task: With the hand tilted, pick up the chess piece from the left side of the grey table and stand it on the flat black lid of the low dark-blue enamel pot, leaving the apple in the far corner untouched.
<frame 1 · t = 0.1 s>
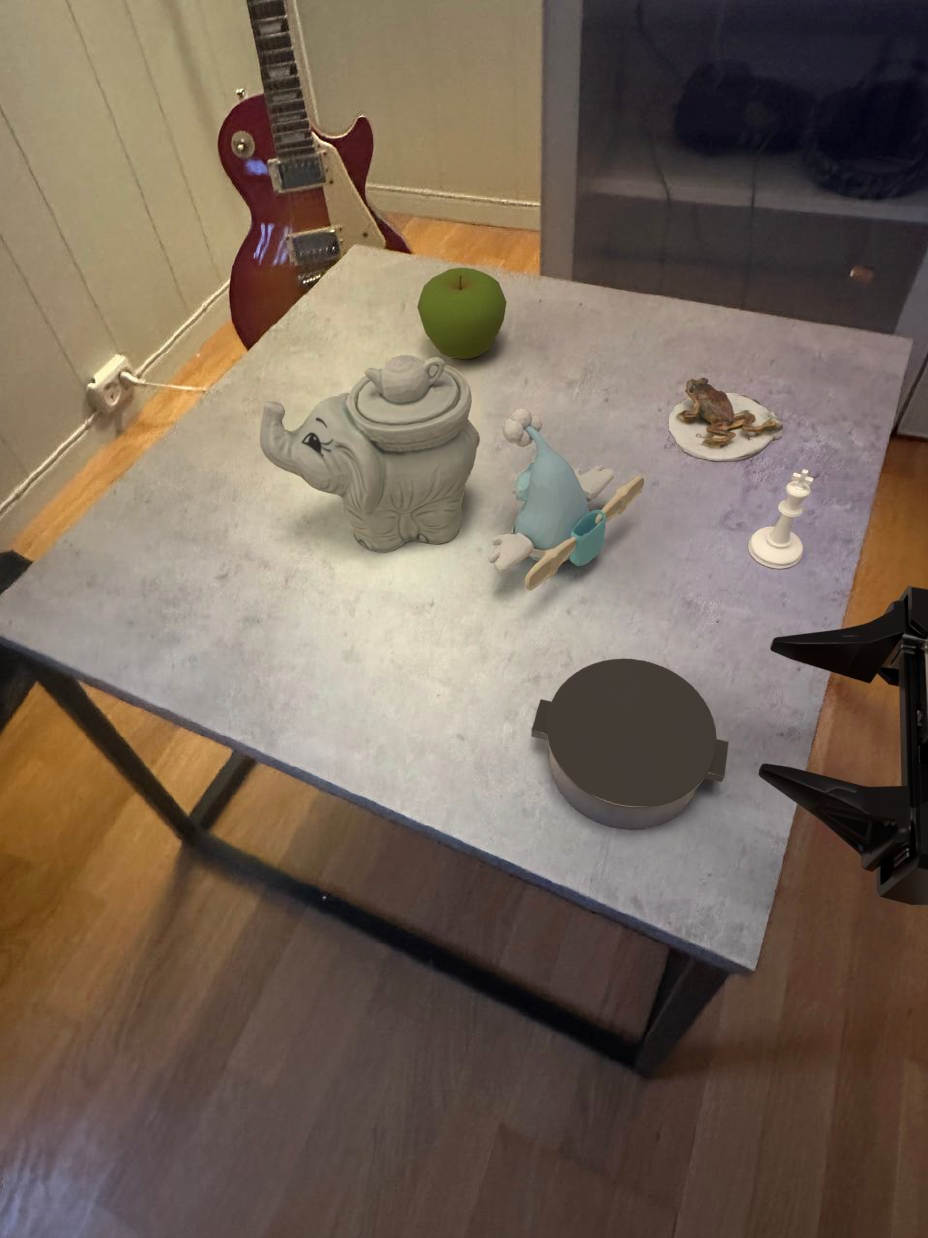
hand: (766, 703, 47), 14 cm above the table, tool horizontal, fingers open, 9 cm apart
frog figurine: (718, 428, 84), on the table
pot: (623, 757, 61), on the table
apple: (465, 352, 96), on the table
toy figure: (549, 550, 75), on the table
chess piece: (774, 550, 73), on the table
teapot: (390, 521, 79), on the table
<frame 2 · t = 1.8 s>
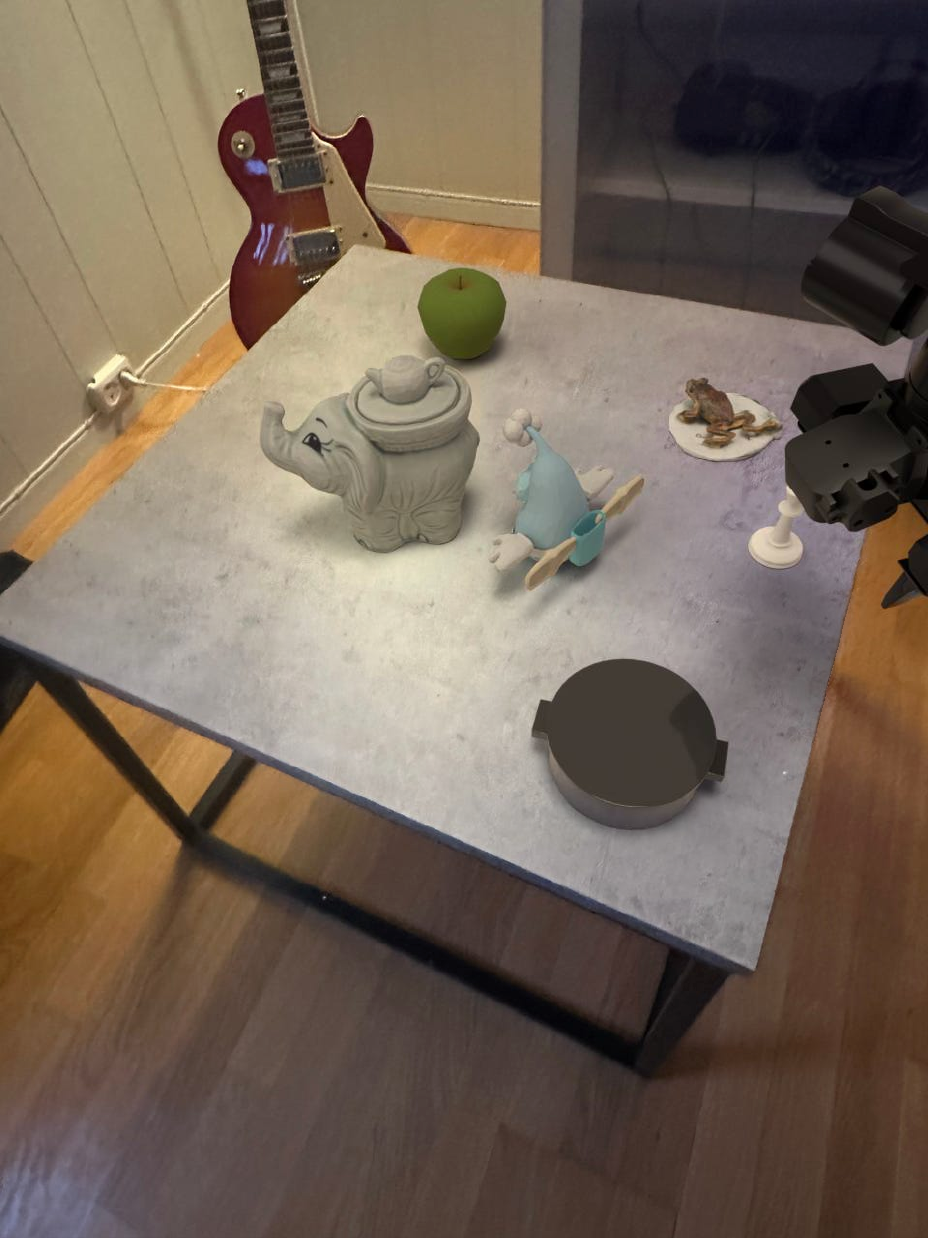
hand: (853, 556, 56), 13 cm above the table, tool pointing down, fingers open, 9 cm apart
nothing on the table moved.
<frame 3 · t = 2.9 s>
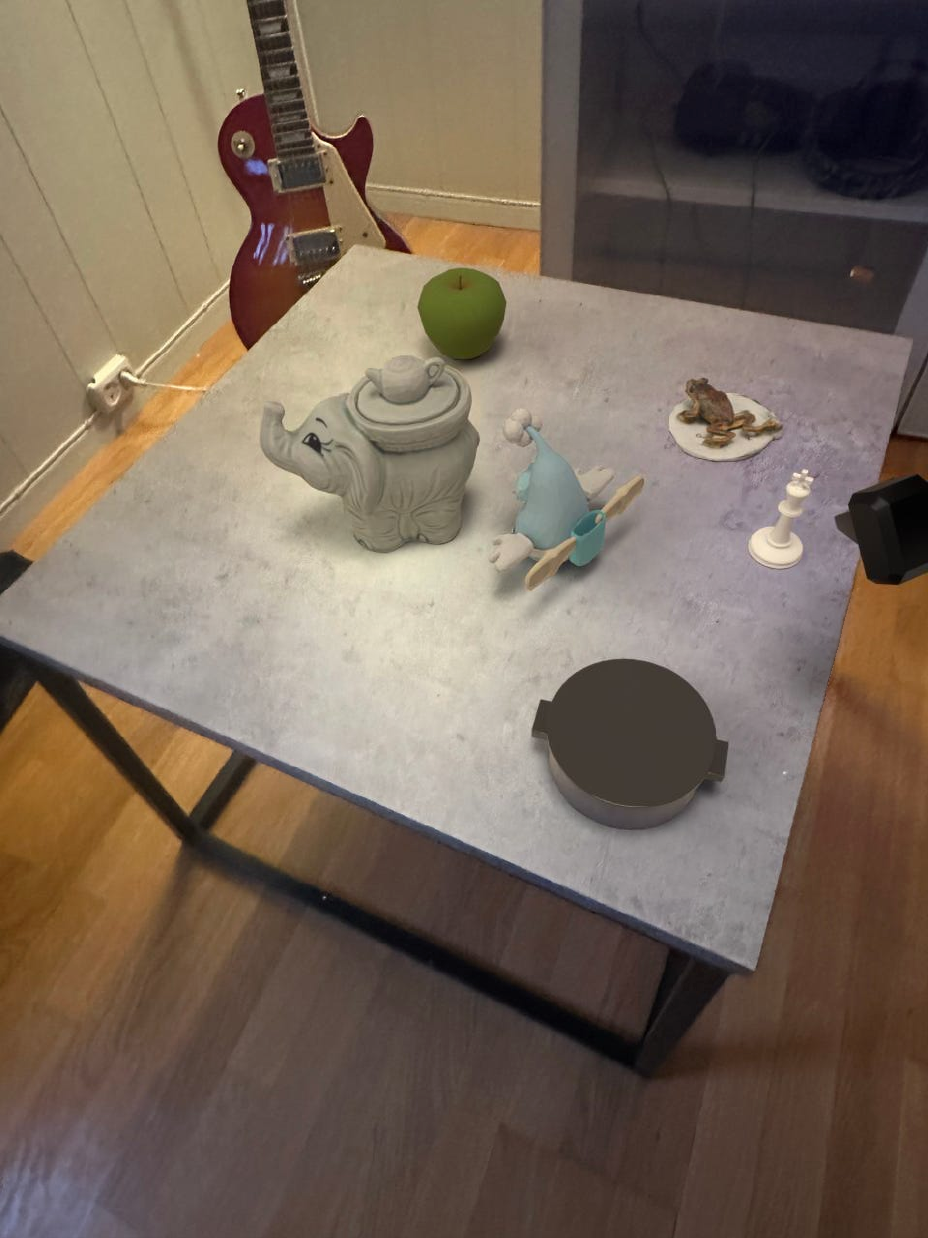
hand: (887, 502, 57), 13 cm above the table, tool tilted 45°, fingers open, 9 cm apart
nothing on the table moved.
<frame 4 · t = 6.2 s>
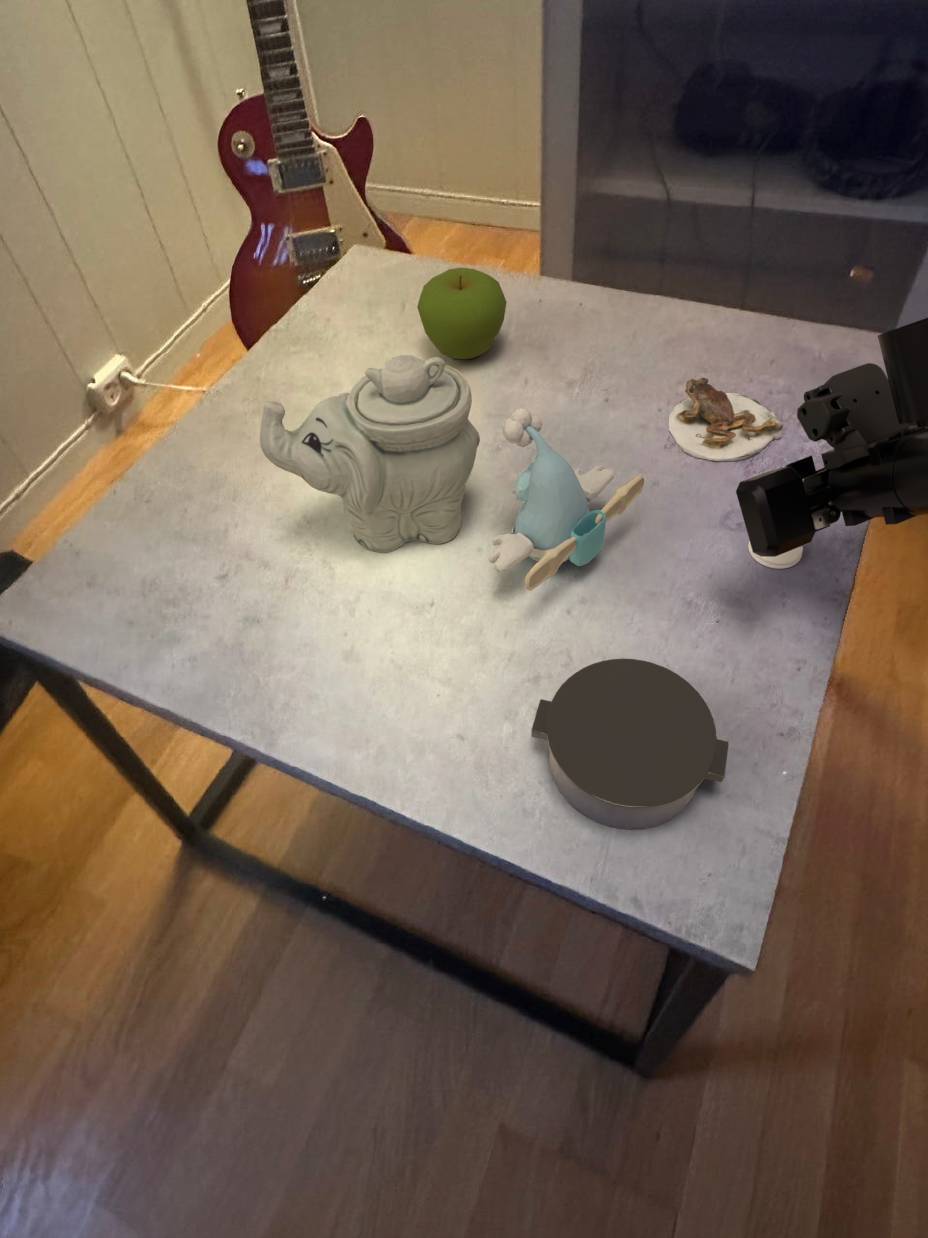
hand: (784, 490, 68), 7 cm above the table, tool tilted 45°, fingers closed on chess piece
chess piece: (774, 550, 73), on the table, touching gripper
everything else where it was.
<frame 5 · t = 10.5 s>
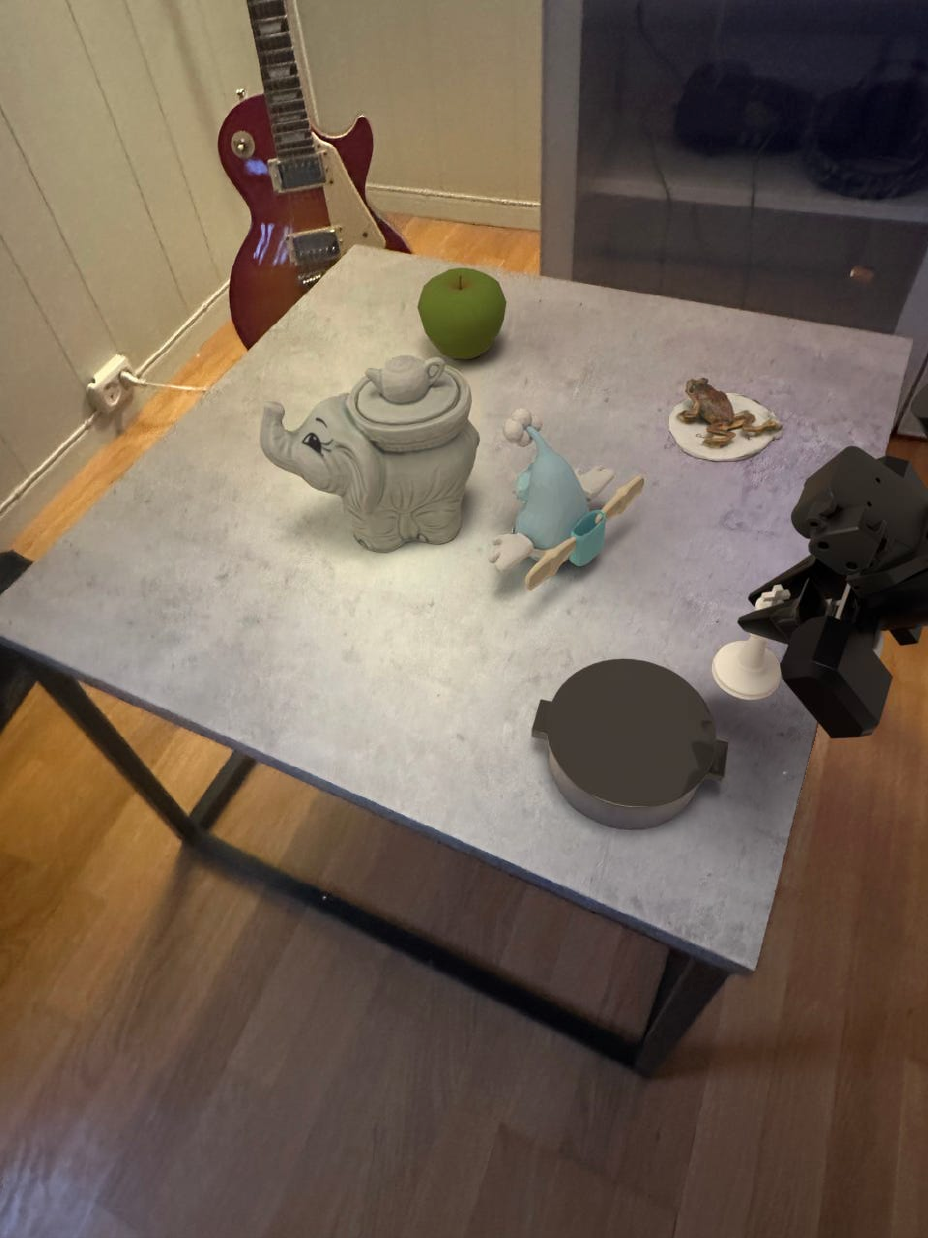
hand: (746, 612, 52), 14 cm above the table, tool tilted 45°, fingers closed on chess piece
chess piece: (745, 673, 57), point 7 cm above the table, touching gripper
everything else where it was.
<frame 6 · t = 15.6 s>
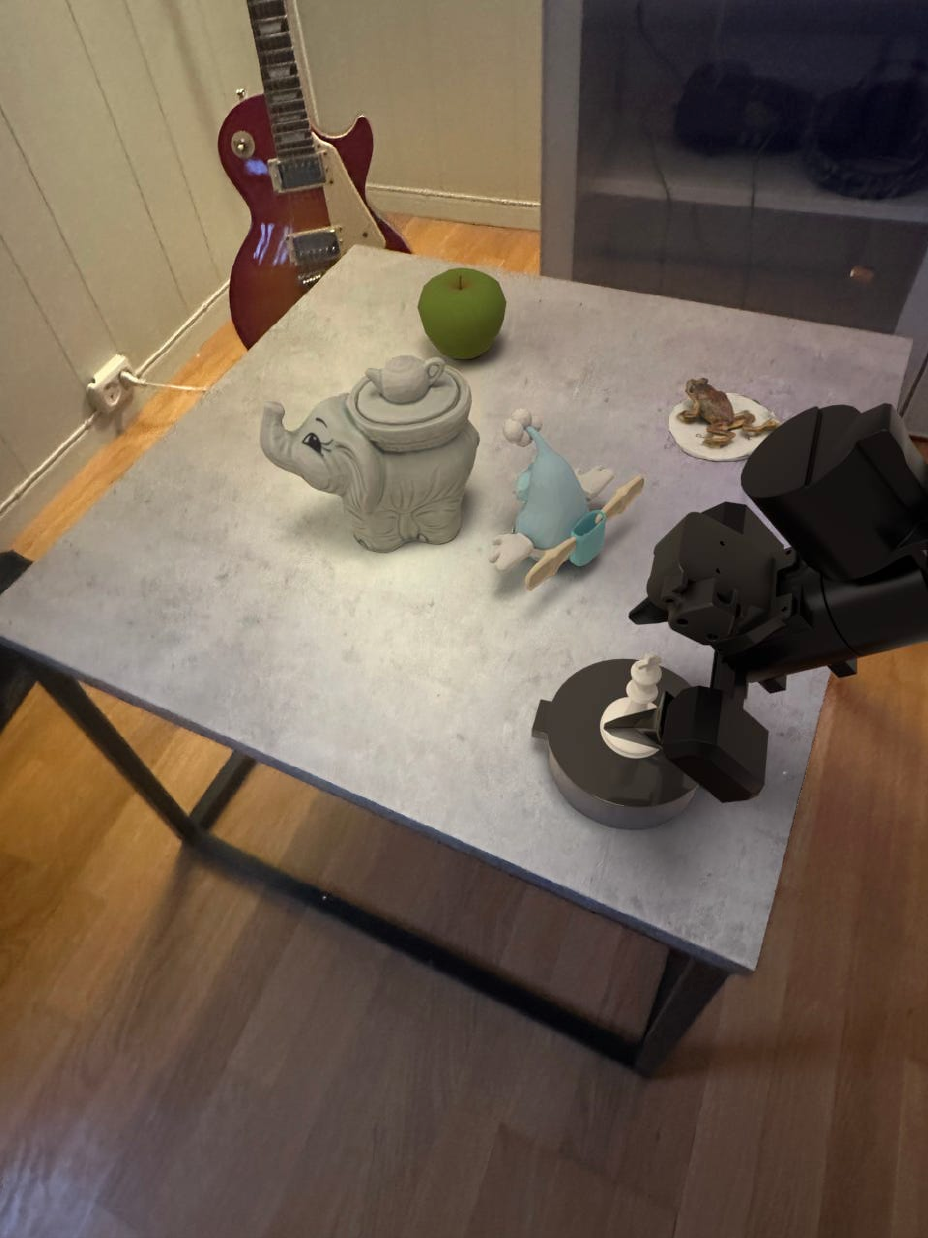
hand: (620, 671, 51), 12 cm above the table, tool tilted 45°, fingers open, 9 cm apart
chess piece: (632, 730, 57), point 5 cm above the table, touching pot
everything else where it was.
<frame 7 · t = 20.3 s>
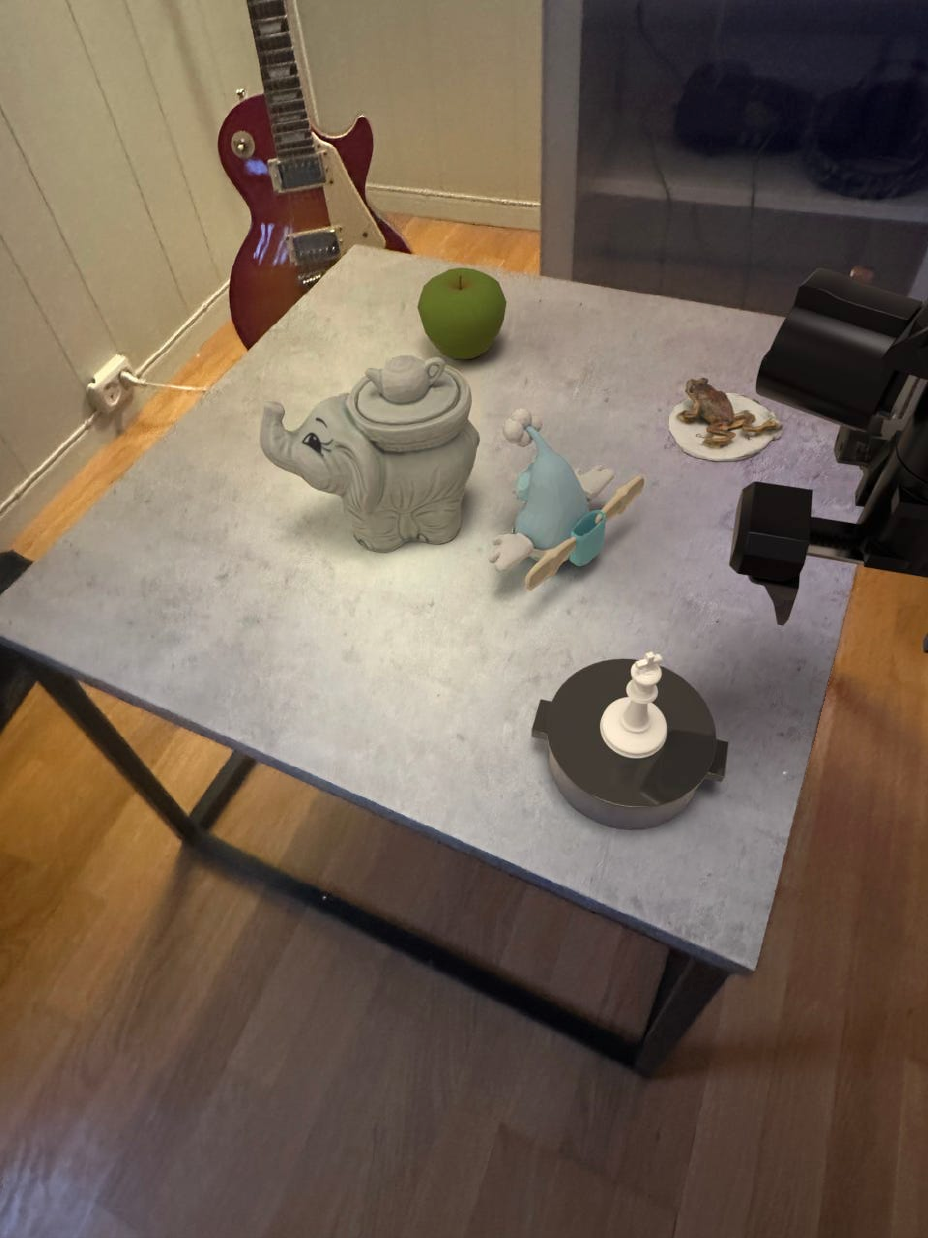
hand: (851, 633, 51), 13 cm above the table, tool pointing down, fingers open, 9 cm apart
nothing on the table moved.
at the end: chess piece 0.2 cm off-centre on the pot, point 4.8 cm above the pot's base; chess piece tilted 0°; apple moved 0.2 cm from its start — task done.
